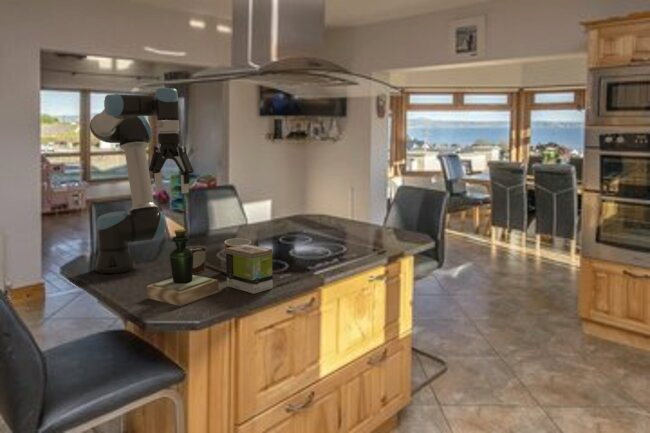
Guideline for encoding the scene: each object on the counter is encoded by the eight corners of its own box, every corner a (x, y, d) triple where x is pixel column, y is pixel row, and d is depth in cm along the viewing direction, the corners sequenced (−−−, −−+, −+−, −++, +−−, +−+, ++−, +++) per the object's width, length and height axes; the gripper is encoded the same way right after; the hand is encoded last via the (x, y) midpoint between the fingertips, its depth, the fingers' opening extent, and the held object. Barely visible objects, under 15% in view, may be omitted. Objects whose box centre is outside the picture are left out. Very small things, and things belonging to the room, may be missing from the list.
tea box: (274, 288, 199) (273, 248, 197) (252, 294, 192) (251, 253, 190) (247, 280, 209) (245, 242, 207) (226, 286, 202) (224, 247, 200)
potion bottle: (180, 277, 197) (177, 227, 194) (199, 279, 194) (197, 229, 191) (165, 283, 189) (163, 231, 186) (185, 285, 186) (183, 233, 183)
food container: (198, 267, 229) (197, 244, 227) (207, 270, 225) (206, 246, 223) (173, 274, 219) (172, 249, 217) (182, 276, 215) (181, 251, 214)
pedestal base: (147, 298, 189) (146, 284, 188) (186, 285, 204) (185, 272, 203) (180, 306, 180) (179, 291, 180) (218, 291, 196) (218, 278, 195)
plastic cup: (232, 274, 218) (231, 244, 216) (220, 268, 227) (219, 240, 225) (256, 270, 224) (256, 241, 222) (244, 264, 233) (243, 237, 231)
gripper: (136, 132, 199) (140, 190, 203) (185, 133, 186) (188, 195, 190) (153, 132, 205) (156, 188, 209) (201, 132, 192) (204, 192, 196)
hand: (171, 191), depth 199 cm, fingers open, 13 cm apart
